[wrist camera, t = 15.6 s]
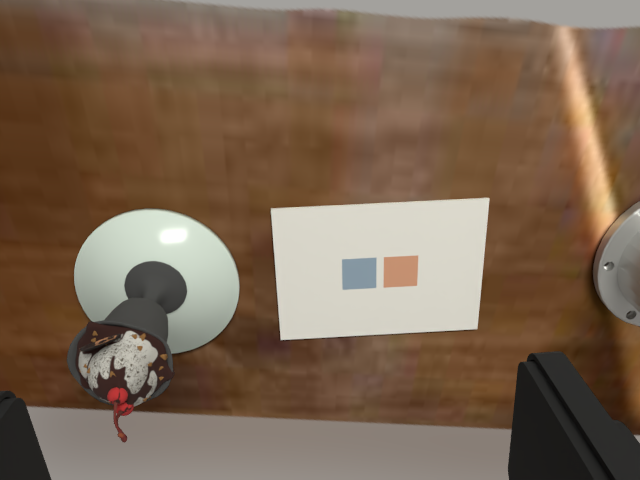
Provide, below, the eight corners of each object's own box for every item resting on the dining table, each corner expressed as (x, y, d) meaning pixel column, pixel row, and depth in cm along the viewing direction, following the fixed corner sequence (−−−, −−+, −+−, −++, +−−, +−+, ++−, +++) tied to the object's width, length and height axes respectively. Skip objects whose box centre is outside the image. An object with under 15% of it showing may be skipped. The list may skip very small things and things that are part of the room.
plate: (231, 204, 44) (230, 207, 43) (246, 345, 49) (245, 349, 48) (60, 212, 43) (57, 215, 43) (94, 353, 49) (92, 358, 48)
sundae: (187, 332, 47) (143, 474, 34) (106, 310, 46) (27, 448, 33) (208, 265, 45) (169, 389, 31) (123, 240, 44) (44, 358, 30)
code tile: (488, 197, 44) (489, 198, 44) (476, 327, 49) (477, 329, 49) (270, 208, 44) (270, 209, 44) (280, 338, 49) (280, 340, 49)
